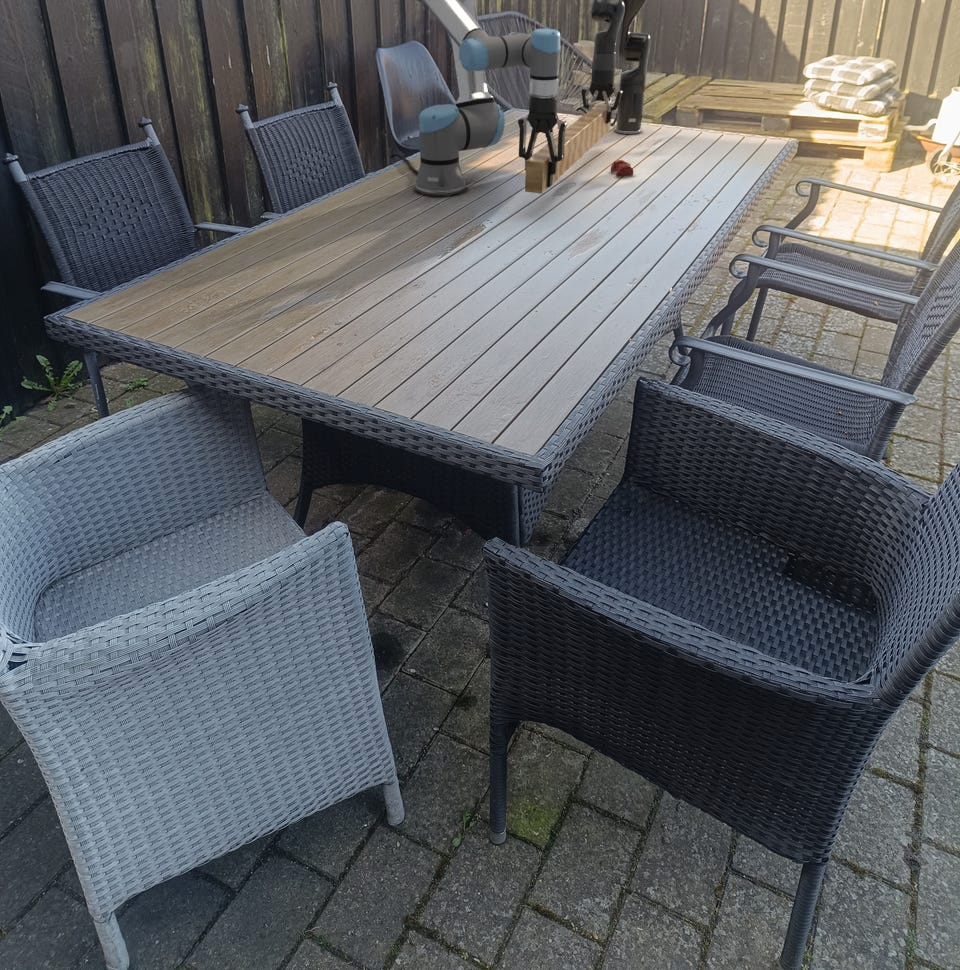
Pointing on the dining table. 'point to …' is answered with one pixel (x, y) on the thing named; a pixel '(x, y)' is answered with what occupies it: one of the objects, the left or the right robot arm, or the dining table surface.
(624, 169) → the dark red rounded lump
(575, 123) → the bar
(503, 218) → the dining table surface
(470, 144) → the left robot arm
